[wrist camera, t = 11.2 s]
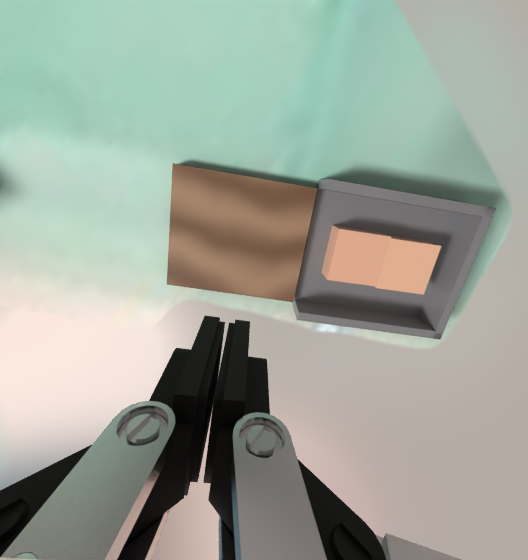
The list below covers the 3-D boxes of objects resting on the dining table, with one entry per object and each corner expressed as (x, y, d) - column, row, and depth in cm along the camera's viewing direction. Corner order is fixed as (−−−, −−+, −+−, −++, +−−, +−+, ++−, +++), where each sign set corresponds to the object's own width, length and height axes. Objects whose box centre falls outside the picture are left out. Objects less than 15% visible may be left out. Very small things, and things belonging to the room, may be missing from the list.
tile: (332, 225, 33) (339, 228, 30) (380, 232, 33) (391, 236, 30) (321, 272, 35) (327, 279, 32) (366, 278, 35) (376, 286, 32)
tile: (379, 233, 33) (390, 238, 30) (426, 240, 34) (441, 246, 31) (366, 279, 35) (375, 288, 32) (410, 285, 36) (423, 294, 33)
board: (177, 164, 31) (172, 163, 29) (314, 188, 32) (317, 188, 30) (170, 280, 35) (166, 284, 34) (291, 297, 36) (293, 302, 35)
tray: (319, 179, 32) (328, 178, 27) (465, 205, 33) (495, 208, 29) (292, 304, 37) (297, 319, 32) (419, 322, 38) (440, 339, 34)
